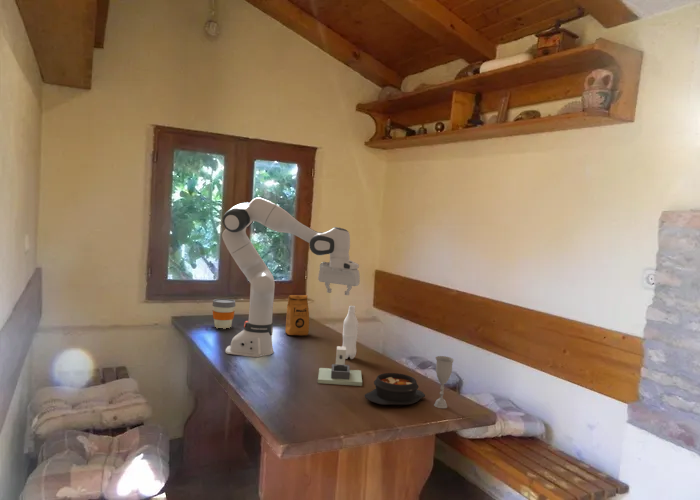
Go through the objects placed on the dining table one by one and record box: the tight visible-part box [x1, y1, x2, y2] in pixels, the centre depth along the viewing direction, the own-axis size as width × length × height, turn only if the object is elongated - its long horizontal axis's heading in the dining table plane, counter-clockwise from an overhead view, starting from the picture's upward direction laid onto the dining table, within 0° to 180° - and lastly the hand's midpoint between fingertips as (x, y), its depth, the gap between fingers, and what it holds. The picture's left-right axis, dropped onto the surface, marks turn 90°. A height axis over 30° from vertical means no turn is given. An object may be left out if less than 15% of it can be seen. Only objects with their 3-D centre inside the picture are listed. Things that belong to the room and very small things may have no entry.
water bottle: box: [341, 305, 359, 360], centre depth 258 cm, size 7×7×25 cm
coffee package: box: [284, 294, 310, 336], centre depth 298 cm, size 10×12×22 cm
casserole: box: [363, 372, 426, 406], centre depth 206 cm, size 25×19×8 cm
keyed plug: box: [335, 345, 346, 365], centre depth 241 cm, size 4×9×9 cm, turn 1°
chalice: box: [433, 355, 455, 409], centre depth 203 cm, size 7×7×18 cm
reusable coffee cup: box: [212, 298, 236, 330], centre depth 303 cm, size 13×13×15 cm
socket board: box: [317, 363, 363, 387], centre depth 227 cm, size 18×16×4 cm
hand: (337, 293), depth 246 cm, fingers open, 8 cm apart
